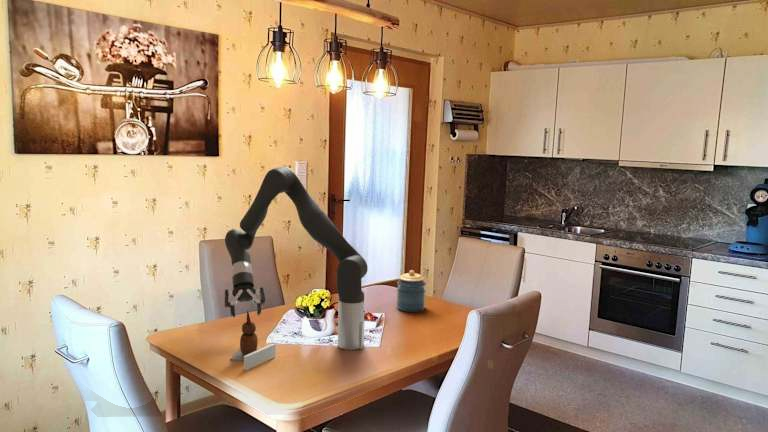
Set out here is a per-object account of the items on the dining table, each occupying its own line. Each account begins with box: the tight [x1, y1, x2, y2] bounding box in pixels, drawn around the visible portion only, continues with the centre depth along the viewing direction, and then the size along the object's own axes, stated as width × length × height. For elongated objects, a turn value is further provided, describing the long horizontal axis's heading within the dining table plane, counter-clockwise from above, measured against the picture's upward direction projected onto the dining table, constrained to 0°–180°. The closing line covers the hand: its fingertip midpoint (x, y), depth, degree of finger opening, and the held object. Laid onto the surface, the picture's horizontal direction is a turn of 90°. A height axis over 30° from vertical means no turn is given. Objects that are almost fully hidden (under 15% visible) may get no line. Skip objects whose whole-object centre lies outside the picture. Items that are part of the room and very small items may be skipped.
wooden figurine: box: [239, 310, 259, 356], centre depth 193 cm, size 7×6×15 cm
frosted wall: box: [243, 343, 276, 371], centre depth 188 cm, size 14×1×4 cm, turn 150°
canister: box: [396, 269, 427, 313], centre depth 253 cm, size 13×13×18 cm
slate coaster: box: [229, 348, 260, 362], centre depth 194 cm, size 10×10×1 cm
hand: (246, 315), depth 200 cm, fingers open, 8 cm apart
